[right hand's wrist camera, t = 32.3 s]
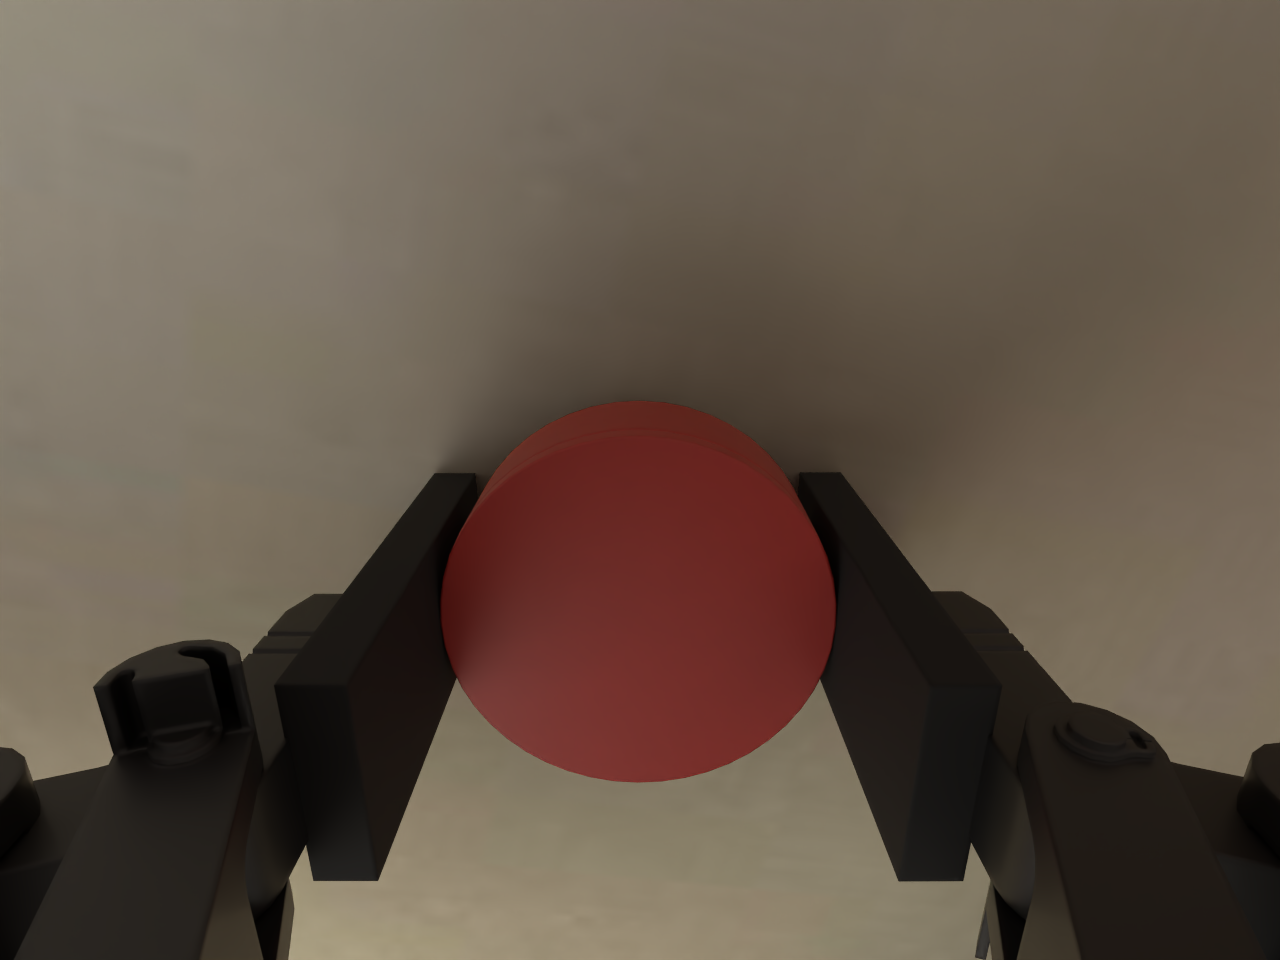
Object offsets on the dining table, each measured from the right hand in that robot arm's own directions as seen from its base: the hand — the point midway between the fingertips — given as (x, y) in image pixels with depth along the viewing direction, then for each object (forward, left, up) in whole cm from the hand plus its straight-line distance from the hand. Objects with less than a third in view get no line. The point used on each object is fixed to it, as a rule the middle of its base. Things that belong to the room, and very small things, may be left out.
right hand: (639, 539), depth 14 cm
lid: (0, 0, +3) cm, 3 cm away
